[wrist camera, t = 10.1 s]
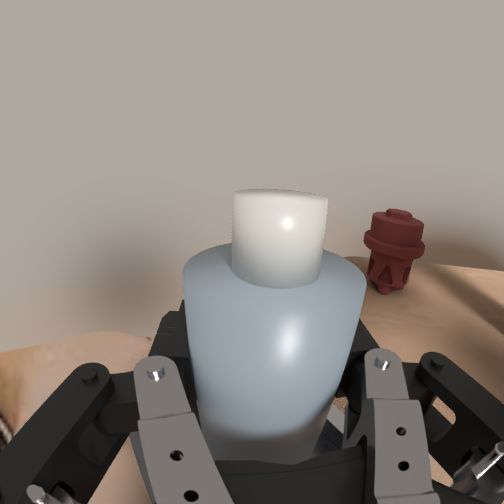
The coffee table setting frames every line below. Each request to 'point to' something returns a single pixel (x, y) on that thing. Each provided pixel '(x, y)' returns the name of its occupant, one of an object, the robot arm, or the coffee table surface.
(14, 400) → the coffee table surface
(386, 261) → the mechanical component
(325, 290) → the pale blue squeeze bottle
